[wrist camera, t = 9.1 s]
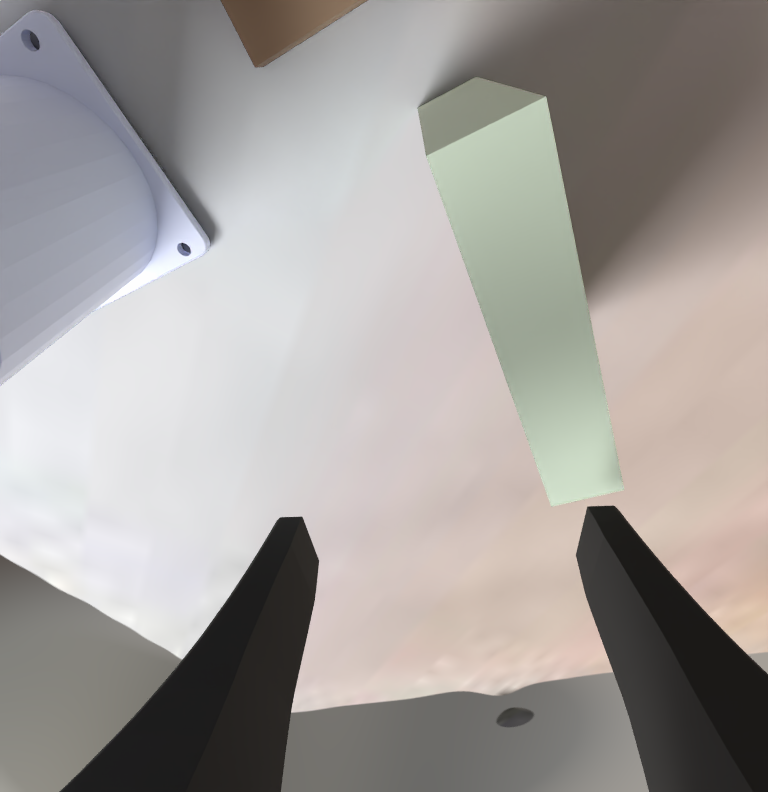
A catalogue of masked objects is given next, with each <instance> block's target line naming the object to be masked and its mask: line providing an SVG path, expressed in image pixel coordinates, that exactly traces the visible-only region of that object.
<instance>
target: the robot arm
mask: <svg viewBox="0 0 768 792" xmlns="http://www.w3.org/2000/svg"><path fill="white" fill-rule="evenodd" d="M31 31H32V32H33V33H34V34H35V35H36V36H37V38H38V40H39V44H40V48H39V50H37V49H36V48H35V47H34V46H33V44H32V42H31V40H30V33H31ZM181 243H185V244H187V245H188V246H189V247H190V249H191V253H188V252H186V251H185V250H183V248H182V246H181ZM209 248H210V240H209V238H208V236H207V235H206V233H205V232H204V230H203V229H202V228H201V226H200V225H199V223H198V222H197V220H196V219H195V217H194V216H193V215H192V213H191V212H190V210H189V209H188V207H187V206H186V204H185V203H184V201H183V200H182V199H181V197H180V196H179V194H178V193H177V191H176V190H175V188H174V187H173V186H172V184H171V183H170V181H169V180H168V178H167V177H166V175H165V174H164V173H163V171H162V170H161V168H160V167H159V165H158V164H157V162H156V161H155V160H154V158H153V157H152V155H151V154H150V152H149V151H148V149H147V148H146V146H145V145H144V144H143V142H142V141H141V139H140V138H139V136H138V135H137V133H136V132H135V131H134V129H133V128H132V126H131V125H130V123H129V122H128V120H127V119H126V118H125V116H124V115H123V113H122V112H121V110H120V109H119V107H118V106H117V104H116V103H115V102H114V100H113V99H112V97H111V96H110V94H109V93H108V91H107V90H106V89H105V87H104V86H103V84H102V83H101V81H100V80H99V78H98V77H97V76H96V74H95V73H94V71H93V70H92V68H91V67H90V65H89V64H88V63H87V61H86V60H85V58H84V57H83V55H82V54H81V52H80V51H79V49H78V48H77V47H76V45H75V44H74V42H73V41H72V39H71V38H70V36H69V35H68V34H67V32H66V31H65V29H64V28H63V26H62V25H61V23H60V22H59V21H58V20H57V19H56V18H55V17H54V16H53V15H51V14H50V13H48V12H45V11H40V10H32V11H29V12H28V13H26V14H25V15H24V16H23V17H22V18H20V19H19V20H18V21H17V22H16V23H14V24H13V25H12V26H11V27H10V28H9V29H7V30H6V31H5V32H4V33H3V34H1V35H0V386H1V385H2V384H3V383H5V382H6V381H7V380H8V379H10V378H11V377H12V376H13V375H15V374H16V373H17V372H18V371H20V370H21V369H22V368H23V367H25V366H26V365H27V364H28V363H30V362H31V361H32V360H33V359H35V358H36V357H37V356H38V355H40V354H41V353H42V352H43V351H44V350H46V349H47V348H48V347H49V346H51V345H52V344H53V343H54V342H56V341H57V340H58V339H59V338H61V337H62V336H63V335H64V334H66V333H67V332H68V331H69V330H71V329H72V328H73V327H74V326H76V325H77V324H78V323H79V322H81V321H82V320H83V319H84V318H86V317H87V316H88V315H89V314H91V313H92V312H94V311H96V310H98V309H99V308H101V307H103V306H105V305H107V304H109V303H111V302H113V301H115V300H117V299H119V298H121V297H123V296H125V295H127V294H129V293H131V292H133V291H135V290H137V289H138V288H140V287H142V286H144V285H146V284H148V283H150V282H152V281H154V280H156V279H158V278H160V277H162V276H164V275H166V274H168V273H170V272H172V271H174V270H175V269H177V268H179V267H181V266H183V265H185V264H187V263H189V262H191V261H193V260H195V259H197V258H199V257H201V256H203V255H204V254H205V253H206V252H207V251H208V250H209ZM576 557H577V561H578V566H579V570H580V574H581V578H582V582H583V586H584V590H585V594H586V598H587V601H588V603H589V606H590V609H591V612H592V615H593V617H594V620H595V623H596V626H597V628H598V631H599V634H600V637H601V639H602V642H603V645H604V648H605V650H606V653H607V656H608V658H609V661H610V664H611V667H612V669H613V672H614V674H615V677H616V680H617V683H618V686H619V688H620V691H621V694H622V697H623V700H624V703H625V706H626V709H627V712H628V715H629V718H630V722H631V725H632V729H633V733H634V736H635V740H636V743H637V747H638V751H639V754H640V758H641V762H642V766H643V769H644V773H645V777H646V781H647V785H648V789H649V792H768V674H767V673H766V672H765V671H764V670H763V669H762V668H761V667H760V666H759V665H758V664H757V663H756V662H755V661H754V660H752V659H751V658H750V657H749V656H748V655H747V654H746V653H745V652H744V651H743V650H742V649H741V648H740V647H739V646H738V645H737V644H736V643H735V642H734V641H733V640H732V639H731V638H730V637H729V636H728V635H727V634H726V633H725V632H724V631H723V630H722V629H721V627H720V626H719V625H718V624H717V623H716V622H715V621H714V620H713V619H712V618H711V617H710V616H709V615H708V614H707V613H706V612H705V611H704V610H703V609H702V608H701V607H700V605H699V604H698V603H697V602H696V601H695V600H694V599H693V598H692V597H691V596H690V594H689V593H688V592H687V591H686V590H685V589H684V588H683V587H682V586H681V584H680V583H679V582H678V581H677V580H676V579H675V578H674V577H673V575H672V574H671V573H670V572H669V571H668V570H667V569H666V567H665V566H664V565H663V564H662V563H661V562H660V561H659V559H658V558H657V557H656V556H655V555H654V553H653V552H652V551H651V550H650V549H649V547H648V546H647V545H646V544H645V543H644V541H643V540H642V539H641V538H640V536H639V535H638V534H637V533H636V531H635V530H634V529H633V528H632V526H631V525H630V524H629V523H628V521H627V520H626V519H625V518H624V516H623V515H622V514H621V513H620V511H619V510H618V509H617V508H616V507H615V506H591V507H587V511H586V515H585V519H584V523H583V528H582V532H581V536H580V540H579V545H578V549H577V553H576ZM318 565H319V560H318V557H317V554H316V552H315V549H314V547H313V544H312V541H311V539H310V536H309V533H308V531H307V528H306V525H305V523H304V520H303V517H281V518H279V519H278V520H277V522H276V523H275V525H274V527H273V528H272V530H271V532H270V533H269V535H268V537H267V538H266V540H265V542H264V543H263V545H262V547H261V548H260V550H259V552H258V553H257V555H256V556H255V558H254V560H253V561H252V563H251V564H250V566H249V568H248V569H247V571H246V572H245V574H244V575H243V577H242V578H241V580H240V581H239V583H238V584H237V586H236V587H235V589H234V590H233V592H232V593H231V595H230V596H229V598H228V599H227V601H226V602H225V604H224V605H223V607H222V608H221V609H220V611H219V612H218V613H217V615H216V616H215V618H214V619H213V620H212V622H211V623H210V625H209V626H208V627H207V629H206V630H205V631H204V633H203V634H202V636H201V637H200V638H199V639H198V641H197V642H196V643H195V645H194V646H193V647H192V649H191V650H190V651H189V652H188V654H187V655H186V656H185V657H184V659H183V660H182V661H181V662H180V664H179V665H178V666H177V668H175V670H174V671H173V672H172V673H171V675H170V676H169V677H168V678H167V679H166V681H165V682H164V683H163V684H162V685H161V686H160V687H159V689H158V690H157V691H156V692H155V693H154V694H153V695H152V697H151V698H150V699H149V700H148V701H147V702H146V704H145V705H144V706H143V707H142V708H141V709H140V710H139V711H138V712H137V713H136V715H135V716H134V717H133V718H132V719H131V720H130V721H129V722H128V723H127V724H126V725H125V726H124V728H123V729H122V730H121V731H120V732H119V733H118V734H117V735H116V736H115V737H114V738H113V739H112V740H111V741H110V742H109V743H108V744H107V745H106V746H105V747H104V748H103V749H102V750H101V751H100V752H99V753H98V754H97V755H96V756H95V757H94V758H93V759H92V760H91V761H90V762H89V764H87V765H86V767H85V768H84V769H83V770H82V771H81V772H80V773H79V774H78V775H76V777H74V779H72V780H71V782H69V783H68V785H66V786H65V787H64V788H63V789H62V790H61V791H60V792H281V784H282V776H283V768H284V759H285V752H286V744H287V737H288V730H289V722H290V714H291V709H292V703H293V698H294V692H295V688H296V683H297V679H298V674H299V670H300V665H301V661H302V656H303V652H304V647H305V643H306V638H307V634H308V629H309V625H310V620H311V615H312V611H313V606H314V601H315V594H316V585H317V576H318Z"/></svg>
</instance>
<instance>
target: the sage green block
mask: <svg viewBox="0 0 768 792" xmlns="http://www.w3.org/2000/svg"><path fill="white" fill-rule="evenodd" d="M418 113H419V118H420V124H421V130H422V135H423V141H424V146H425V152H426V157H427V160H428V162H429V165H430V168H431V171H432V174H433V176H434V179H435V182H436V185H437V188H438V190H439V193H440V196H441V199H442V202H443V204H444V207H445V210H446V213H447V216H448V218H449V221H450V224H451V227H452V230H453V232H454V235H455V238H456V241H457V244H458V246H459V249H460V252H461V255H462V258H463V260H464V263H465V266H466V269H467V272H468V274H469V277H470V280H471V283H472V286H473V288H474V291H475V294H476V297H477V300H478V302H479V305H480V308H481V311H482V314H483V316H484V319H485V322H486V325H487V328H488V330H489V333H490V336H491V339H492V342H493V344H494V347H495V350H496V353H497V356H498V358H499V361H500V364H501V367H502V370H503V372H504V375H505V378H506V381H507V384H508V386H509V389H510V392H511V395H512V398H513V400H514V403H515V406H516V409H517V412H518V414H519V417H520V420H521V423H522V426H523V428H524V431H525V434H526V437H527V440H528V442H529V445H530V448H531V451H532V454H533V456H534V459H535V462H536V465H537V468H538V470H539V473H540V476H541V479H542V482H543V484H544V487H545V490H546V493H547V496H548V498H549V501H550V504H551V507H552V506H557V505H561V504H565V503H570V502H574V501H578V500H583V499H587V498H591V497H596V496H600V495H604V494H609V493H613V492H617V491H622V490H624V486H623V481H622V476H621V471H620V466H619V461H618V456H617V451H616V446H615V441H614V436H613V431H612V426H611V421H610V416H609V410H608V405H607V400H606V395H605V390H604V385H603V380H602V375H601V370H600V365H599V360H598V355H597V350H596V345H595V340H594V335H593V330H592V325H591V320H590V315H589V310H588V305H587V300H586V295H585V290H584V284H583V279H582V274H581V269H580V264H579V259H578V254H577V249H576V244H575V239H574V234H573V229H572V224H571V219H570V214H569V209H568V204H567V199H566V194H565V189H564V184H563V179H562V174H561V169H560V164H559V159H558V153H557V148H556V143H555V138H554V133H553V128H552V123H551V118H550V113H549V108H548V103H547V98H546V96H543V95H540V94H536V93H532V92H529V91H525V90H522V89H518V88H515V87H511V86H508V85H504V84H501V83H497V82H493V81H490V80H486V79H483V78H479V77H474V78H473V79H471V80H469V81H467V82H465V83H463V84H461V85H459V86H458V87H456V88H454V89H452V90H450V91H448V92H446V93H444V94H443V95H441V96H439V97H437V98H435V99H433V100H431V101H430V102H428V103H426V104H424V105H422V106H420V107H418Z"/></svg>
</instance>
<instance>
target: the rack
mask: <svg viewBox="0 0 768 792" xmlns="http://www.w3.org/2000/svg"><path fill="white" fill-rule="evenodd" d="M366 1H367V0H221V2H222V4H223V6H224V8H225V10H226V12H227V14H228V16H229V17H230V19H231V21H232V23H233V25H234V27H235V29H236V31H237V33H238V35H239V37H240V39H241V41H242V43H243V45H244V47H245V49H246V51H247V53H248V55H249V57H250V58H251V60H252V62H253V64H254V66H255V67H264V66H266V65H267V64H269V63H270V62H272V61H273V60H275V59H277V58H278V57H280V56H281V55H283V54H284V53H286V52H288V51H289V50H291V49H292V48H294V47H295V46H297V45H299V44H300V43H302V42H303V41H305V40H306V39H308V38H309V37H311V36H313V35H314V34H316V33H317V32H319V31H320V30H322V29H324V28H325V27H327V26H328V25H330V24H331V23H333V22H335V21H336V20H338V19H339V18H341V17H342V16H344V15H345V14H347V13H349V12H350V11H352V10H353V9H355V8H356V7H358V6H360V5H361V4H363V3H364V2H366Z"/></svg>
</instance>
